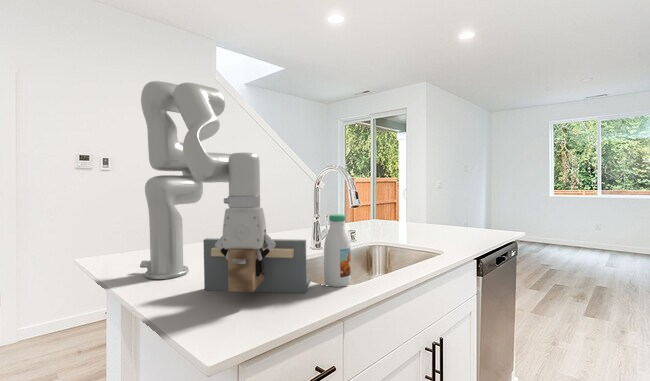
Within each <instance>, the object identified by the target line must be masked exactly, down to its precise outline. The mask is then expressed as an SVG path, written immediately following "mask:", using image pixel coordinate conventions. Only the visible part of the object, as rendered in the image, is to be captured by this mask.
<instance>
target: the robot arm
mask: <svg viewBox="0 0 650 381" xmlns="http://www.w3.org/2000/svg"><path fill="white" fill-rule="evenodd" d="M140 94H141V96H140V97H141V98H140V105H141V109H142V113H143V117H144V121H145V123H146V124H145V125H146V127H147V147H148V148H147V151H148V162H149V164H150V166H151V168H152V169H153V170H155V171H160V172H161V171H162V172H181V173H182V175H174V174H172V175H171V174H168V175H165V174H164V175H155V176H152V177H150V178H149V179H148V180H147V181H146V182H145V185H144V194H145V198H146V203H147V209H148V221H149V253H150V255H149V256H150V259H149V260H141V262H140V265H139V268H141V269H143V268H146V271H145V273H144V275H145V278H147V279H149V280H167V279H173V278H179V277H182V276H184V275H186V274H188V273H189V266H186V265H184V242H183V241H184V240H183V239H184V238H183V234H184V233H183V217H182V215H181V213H180V211H179V210H178V209H177V207H176V205H177V206H178V205H189V204H196V203H198V202H199V201H200V200H201V199H202V196H203V193H204V190H203V189H204V184H203V183H210V184H211V183H212V184H213V183H228V196H227V197H226V198H223V204H225V205H228V207H227V208H225V210H224V215H223V216H224V217H223V225H222V236H221V237H219V238H218V239H219V240H218V241H217V242H216V243H215V246H216V247H217V248H218V249H219V250H220V251H221V253H222V254H223V255H224V256H225V257H226V259H227V260H228V250H229V249H254V250H256V256H257V260H256V276H260V275H261V274H262V272H263V271H264V257H265V256H266V255H267V254H268V253H269V252H270V251H271V250H272V249H273V248H274V247H275V246H276V243H275V242H274V241H273V240H272V239H273V238H271V237H270V235H268V234H267V224H266V217H265V213H264V209H263V207H261V183H260V182H261V178H260V177H261V175H260V174H261V173H260V172H261V171H260V168H261V167H260V157H259V155H258V154H256V153H254V152H234V153H224V152H207V151H206V150H205V148H204V147H203V144H202V143H201V142H203V141H205V140H207V139H208V140H209V138H212V137H213V136H215V134H217V133H218V131H219V129H220V127H221V123H220V120H219V118H218V117H219V116H221V115H222V114H223V113H224V111H225V107H226V101H225V98H224V95H223V93H221V91H220V90H219V89H217V88H215V87H211V86H208V85H203V84H198V83H194V82H182V83H179V84H176V83H172V82H167V81H166V82H165V81H158V80H154V81H149V82H147V83H146V84H145V85H144V86H143V88H142V91H141V93H140ZM168 112H170V113H177V114H179V115H181V116H180V117H181V118H182V120H183V122H184V124H185V126H186V128H187V130H188V131H187V133H186V134H185V136H184V139H183V142H180V141H179V140H178V128H177V126H176V122H175V121H174V120H173V119H172V117H171V116H170V115H169V114H168ZM266 243H267V244H268V247H267V248H266V249H265V250H263V248H262V247H263V246H264V245H266Z"/></svg>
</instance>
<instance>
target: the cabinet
mask: <svg viewBox="0 0 650 381" xmlns="http://www.w3.org/2000/svg"><path fill="white" fill-rule="evenodd" d="M262 248H264V246H263V247H262ZM256 260H257V256H256V250H254V249H229V250H228V289H229V291H228V292H237V293H238V292H240V293H242V292H244V293H254V292H253V291H254V290H255V289H256V288H257V287H258V286H259V285H260V284H261V283H262V281H263V280H264V274H261V275H260V276H256Z"/></svg>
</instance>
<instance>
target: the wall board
mask: <svg viewBox="0 0 650 381" xmlns="http://www.w3.org/2000/svg"><path fill="white" fill-rule="evenodd" d="M219 239H220V238H213V237H212V238H210V237H209V238H208V237H206V238H205V239H203V272H204V273H203V279H204V282H203V283H204V284H203V285H204V291H210V290H211V291H212V292H213V291H215V292H219V291H220V292H224V291H225V292H230V291H229V289H228V260H227V259H226V257H225V256H224V255H223V254H222V253H221V251H220V250H219V249H218V248H217V247H216V246H215V243H216V242H217V241H218V240H219ZM271 239H272V240H273V241H274V242H275V243H276V246H275V247H274V248H273V249H272V250H271V251H270V252H269V253H268V254H267V255H266V256H265V257H264V271H263V272H262V274H264V280H263V281H262V283H261V284H260V285H259V286H258V287H257V288H256V289H255V290H254V291H253V292H252V293H281V294H282V293H283V294H284V293H286V294H289V293H290V294H291V293H292V294H306V293H307V290H308V288H309V286H310V283H311V279H312V278H311V277H307V239H286V238H285V239H284V238H283V239H282V238H277V239H276V238H274V239H273V238H271ZM267 247H268V244H267V243H266V245H264V248H263V250H265V249H266V248H267Z"/></svg>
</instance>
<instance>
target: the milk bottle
mask: <svg viewBox="0 0 650 381" xmlns="http://www.w3.org/2000/svg"><path fill="white" fill-rule="evenodd" d="M328 220H329V221H328V222H329V229H328V231H327V234H326V236H325V238H324V245H323V248H324V249H323V282H324V284H325V285H326V286H329V287H333V288H341V287H347V286H349V285H350V284H351V281H352V278H351V276H352V275H351V273H352V271H351V270H352V265H351V263H352V261H351V251H352V250H351V240H350V237H349V235H348V233H347V230H346V226H345V223H346V215H345V214H340V213H338V214H333V213H332V214H329V217H328Z"/></svg>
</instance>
